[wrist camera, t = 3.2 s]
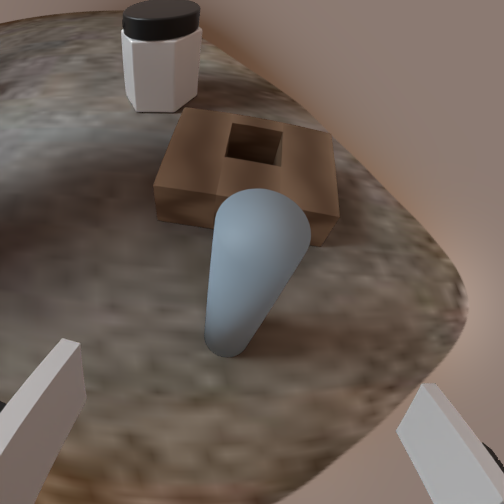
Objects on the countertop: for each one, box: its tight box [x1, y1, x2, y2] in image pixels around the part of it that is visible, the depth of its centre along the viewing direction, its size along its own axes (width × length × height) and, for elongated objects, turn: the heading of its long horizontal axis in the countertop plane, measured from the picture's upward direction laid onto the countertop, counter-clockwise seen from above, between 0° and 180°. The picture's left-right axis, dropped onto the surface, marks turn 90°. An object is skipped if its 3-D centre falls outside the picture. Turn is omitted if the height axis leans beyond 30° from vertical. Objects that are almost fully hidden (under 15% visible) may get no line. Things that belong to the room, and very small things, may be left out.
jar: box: [121, 0, 202, 112], centre depth 30 cm, size 9×8×12 cm
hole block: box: [153, 107, 340, 247], centre depth 28 cm, size 14×10×4 cm
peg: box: [204, 189, 311, 357], centre depth 17 cm, size 3×3×14 cm
